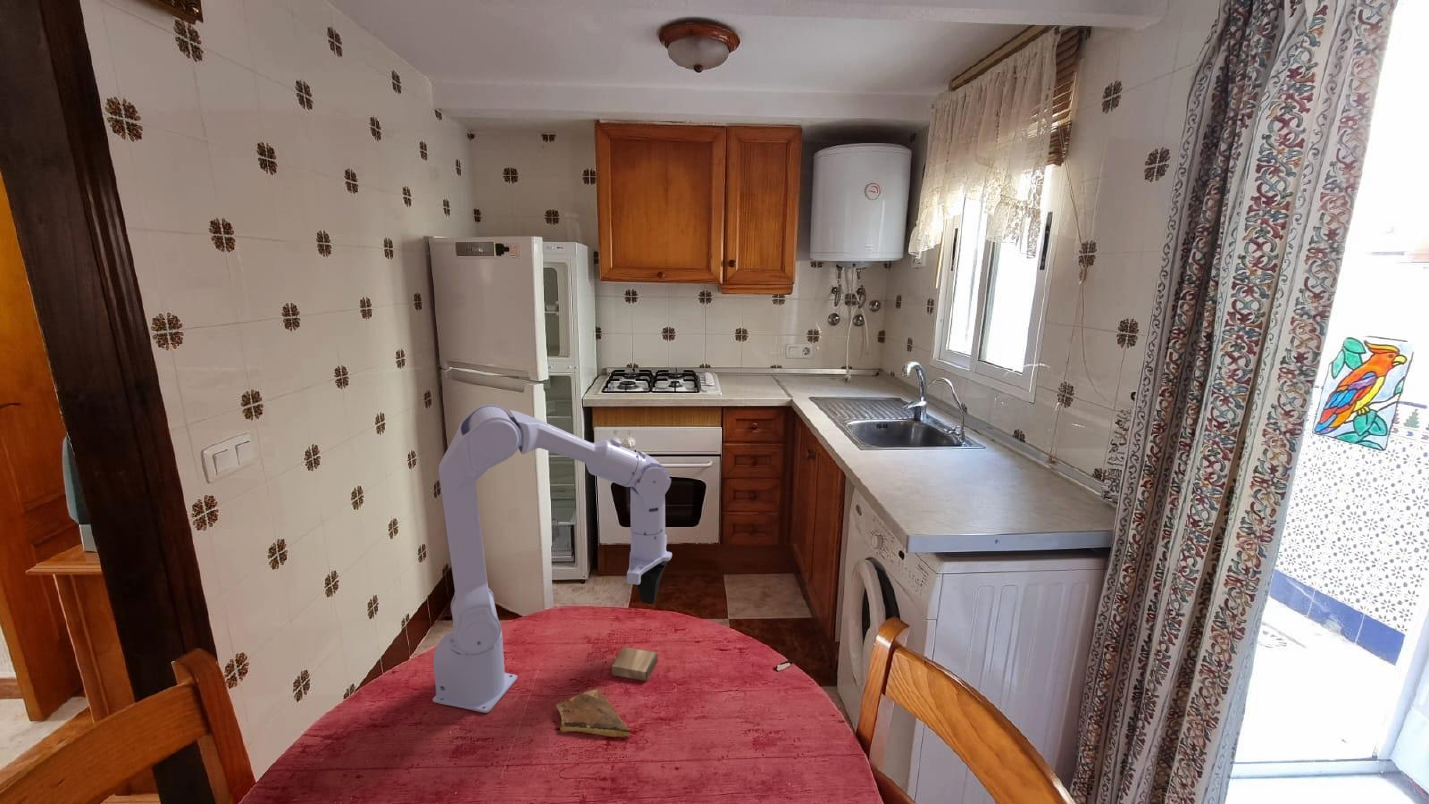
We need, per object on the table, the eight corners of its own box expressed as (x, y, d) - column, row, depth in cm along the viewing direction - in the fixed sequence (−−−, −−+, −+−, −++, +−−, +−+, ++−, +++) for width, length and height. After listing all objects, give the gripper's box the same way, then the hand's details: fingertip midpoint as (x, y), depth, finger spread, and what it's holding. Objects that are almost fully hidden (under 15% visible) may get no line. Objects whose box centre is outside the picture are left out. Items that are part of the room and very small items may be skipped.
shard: (631, 741, 79) (631, 729, 79) (579, 767, 75) (579, 755, 74) (598, 695, 88) (598, 685, 87) (549, 716, 83) (549, 705, 83)
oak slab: (611, 666, 91) (647, 672, 90) (623, 647, 96) (657, 652, 95) (612, 675, 92) (647, 682, 90) (623, 656, 96) (657, 662, 95)
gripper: (656, 550, 87) (657, 629, 90) (683, 513, 101) (682, 583, 104) (613, 544, 89) (615, 623, 92) (645, 509, 103) (646, 578, 106)
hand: (648, 601), depth 98 cm, fingers closed
